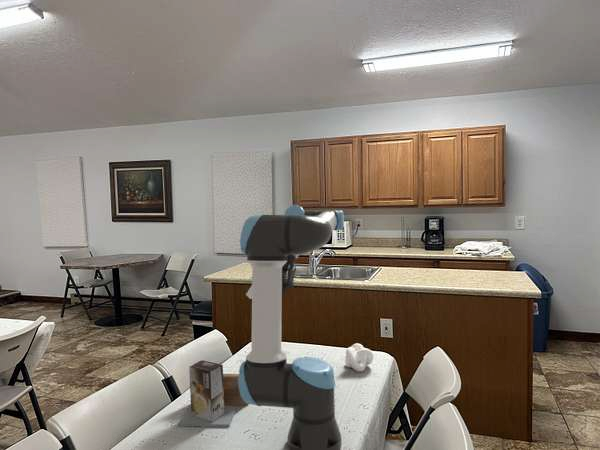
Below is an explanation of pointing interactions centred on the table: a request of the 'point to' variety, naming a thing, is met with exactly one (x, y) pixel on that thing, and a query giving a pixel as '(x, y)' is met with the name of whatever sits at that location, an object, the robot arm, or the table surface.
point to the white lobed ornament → (358, 357)
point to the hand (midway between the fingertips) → (260, 299)
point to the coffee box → (206, 390)
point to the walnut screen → (232, 390)
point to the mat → (194, 421)
